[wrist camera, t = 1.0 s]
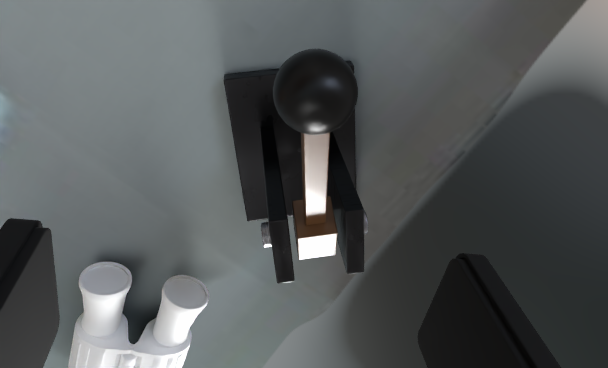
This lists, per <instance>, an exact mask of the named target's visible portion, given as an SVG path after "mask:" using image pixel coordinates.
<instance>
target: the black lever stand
mask: <svg viewBox="0 0 608 368" xmlns="http://www.w3.org/2000/svg"><path fill="white" fill-rule="evenodd" d="M345 62H346V63H347V64H348V65H349V66H350V68H351V69H352V71H353V73H354V65H353V64H352V63H351V61H345ZM278 71H279V69H271V70H261V71H252V72H243V73H234V74H225V75H224V85H225V91H226V97H227V103H228V109H229V114H230V120H231V126H232V132H233V138H234V144H235V150H236V156H237V162H238V168H239V174H240V180H241V186H242V192H243V198H244V203H245V209H246V215H247V221H256V220H263V219H268V221H269V222H265V223H261V231H262V240H263V246H264V247H271V246H272V250H273V257H274V265H275V272H276V279H277V283H286V282H293V281H294V271H293V262H292V253H291V244H290V235H289V226H288V218H287V216H293V208H292V201H296V200H303V183H302V152H301V132H298V131H296V130H294V129H293V128H291V127H290V126H289V125H287V124H286V123H285V122H284V120H283V119H282V118H281V117H280V115H279V113H278V111H277V109H276V107H275V103H274V99H273V86H274V81H275V78H276V75H277V73H278ZM328 196H330V197H331V201H332V206H333V211H334V216H335V221H336V226H337V232H338V235H337V241H338V244H339V248H340V251H341V255H342V258H343V262H344V265H345V269H346V272H347V274H353V273H361V272H364V234H367V233H368V221H367V216H366V213H365V211H364V209H363V206H362V204H361V201H360V199H359V196H358V194H357V191H356V163H355V108H354V111H353V113H352V114H351V116H350V117H349V119H348V120H347V121H346V122H345V123H344V124H343V125H342V126H341V127H339V128H338V129H336V130H334V131H332V132H330V143H329V163H328V184H327V197H328Z"/></svg>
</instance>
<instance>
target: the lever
mask: <svg viewBox="0 0 608 368" xmlns="http://www.w3.org/2000/svg"><path fill="white" fill-rule="evenodd" d="M357 97H358V87H357V82H356V78H355V76H354V73H353V71H352V69H351V68H350V66H349V65H348V64H347V63H346V62H345V61H344V60H343V59H342V58H341V57H340V56H338V55H336V54H335V53H333V52H330V51H327V50H323V49H309V50H304V51H301V52H299V53H297V54H295V55H293V56H291V57H290V58H289V59H288V60H287V61H286V62H285V63H284V64H283V65H282V66H281V68H280V69H279V71H278V73H277V75H276V78H275V81H274V86H273V99H274V103H275V107H276V109H277V111H278V113H279V115H280V117H281V118H282V119H283V120H284V122H285V123H286V124H287V125H289V126H290V127H291V128H293V129H294V130H296V131H298V132H301V152H302V183H303V200H296V201H292V208H293V222H294V230H295V237H296V244H297V251H298V258H299V260H300V259H308V258H315V257H322V256H330V255H335V254H336V245H337V235H338V232H337V226H336V221H335V216H334V211H333V206H332V201H331V197H330V196H328V197H327V184H328V163H329V143H330V132H332V131H334V130H336V129H338V128H339V127H341V126H342V125H343V124H344V123H345V122H346V121H347V120H348V119H349V117H350V116H351V114H352V113H353V111H354V108H355V105H356V102H357Z"/></svg>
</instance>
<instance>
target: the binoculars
mask: <svg viewBox="0 0 608 368" xmlns="http://www.w3.org/2000/svg"><path fill="white" fill-rule="evenodd" d="M131 285H132V275H131V272H130V271H129V270H128V268H126V267H125V266H123V265H121V264H119V263H115V262H98V263H95V264H92V265H90V266H88V267H87V268H85V269H84V270H83V271H82V273H81V275H80V278H79V287H80V290H81V293H82V295H83V307H84V312H83V313H82V314H81V315H80V316H79V317H78V319H77V321H76V324H75V329H74V335H73V341H72V347H71V353H70V358H69V364H68V368H182V366H183V363H184V361H185V358H186V355H187V352H188V349H189V346H190V343H191V339H192V333H191V330H190V326H191V325H192V323H193V322H194V320H195V319H196V317H197V315H198V314H199V313H200V312H201V311H202V310H203V309H204V308H205V307H206V305H207V303H208V300H209V292H208V289H207V287H206V286H205V285H204V284H203V283H202V282H201V281H200V280H198V279H197V278H194V277H192V276H188V275H176V276H172V277H170V278H169V279H168V280H167V281H166V282H165V284H164V286H163V288H162V301H161V304H160V308H159V312H158V315H157V318H155V319H153V320H151V321H150V322H149V323H148V324H147V325H146V327H145V329H144V331H143V333H142V335H141V337H140V339H139V341H138V342H137V343H136V344H130V342H129V341H128V321H127V318H126V317H125V315H124V314H123V313H122V312H123V307H124V303H125V299H126V294H127V292H128V291H129V289H130V287H131Z"/></svg>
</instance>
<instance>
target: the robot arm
mask: <svg viewBox="0 0 608 368" xmlns="http://www.w3.org/2000/svg"><path fill="white" fill-rule="evenodd" d="M59 320H60V315H59V305H58V295H57V285H56V275H55V265H54V255H53V245H52V236H51V230H50V229H49V228H43V227H42V224H41V222H40V221H38V220H25V219H12V218H11V219H8V220H7V221H6V222H5V223H4V225H3V226H2V228H1V229H0V368H43V366H44V363H45V361H46V359H47V356H48V354H49V351H50V349H51V346H52V344H53V342H54V339H55V337H56V334H57V331H58V327H59ZM418 344H419V347H420V350H421V352H422V355H423V357H424V360H425V362H426V365H427V367H428V368H561V367H560V365H559V364H558V362H557V361H556V360H555V358H554V357H553V355H552V354H551V352H550V351H549V349H548V348H547V346H546V345H545V343H544V342H543V340H542V339H541V337H540V336H539V335H538V333H537V331H536V330H535V329H534V327H533V326H532V324H531V323H530V321H529V320H528V319H527V317H526V315H525V314H524V312H523V311H522V310H521V308H520V307H519V305H518V304H517V302H516V301H515V299H514V298H513V296H512V295H511V294H510V292H509V290H508V289H507V287H506V286H505V284H504V283H503V282H502V280H501V279H500V277H499V276H498V274H497V273H496V271H495V270H494V268H493V267H492V265H491V264H490V262H489V261H488V259H487V258H486V257H485V256H483V255H477V254H464V253H462V254H459V255H458V256H457V257H456V259H452V260H451V261H450V263H449V265H448V267H447V269H446V271H445V274H444V276H443V278H442V280H441V282H440V285H439V287H438V289H437V291H436V294H435V296H434V298H433V301H432V303H431V305H430V307H429V309H428V312H427V314H426V316H425V318H424V320H423V323H422V325H421V327H420V330H419V332H418Z"/></svg>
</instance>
